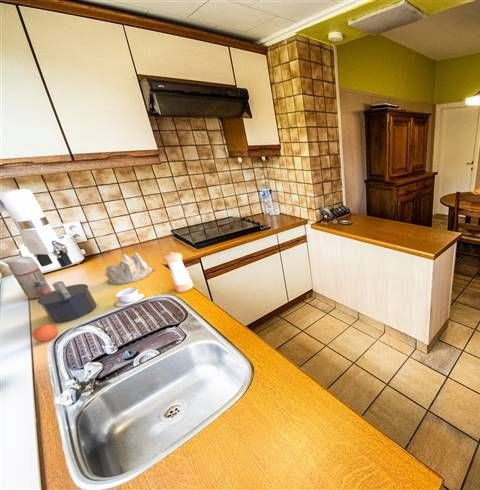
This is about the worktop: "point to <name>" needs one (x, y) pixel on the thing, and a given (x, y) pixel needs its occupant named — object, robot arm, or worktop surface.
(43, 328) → the ball
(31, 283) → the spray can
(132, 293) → the teacup
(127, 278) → the jagged rock
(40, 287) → the lighter
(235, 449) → the worktop surface
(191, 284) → the salt shaker
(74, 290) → the pot lid
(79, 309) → the pot
